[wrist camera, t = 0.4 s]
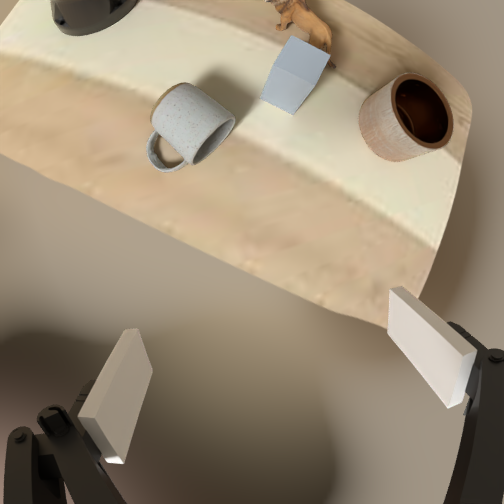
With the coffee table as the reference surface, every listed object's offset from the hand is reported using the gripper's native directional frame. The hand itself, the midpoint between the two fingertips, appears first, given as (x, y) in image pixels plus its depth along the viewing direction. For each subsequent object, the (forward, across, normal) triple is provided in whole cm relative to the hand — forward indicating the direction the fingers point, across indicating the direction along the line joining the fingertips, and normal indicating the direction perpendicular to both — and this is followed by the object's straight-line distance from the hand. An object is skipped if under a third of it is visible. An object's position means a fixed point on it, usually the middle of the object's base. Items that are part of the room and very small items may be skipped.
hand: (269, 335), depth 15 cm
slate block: (+30, +8, +17) cm, 35 cm away
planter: (+30, +23, +12) cm, 40 cm away
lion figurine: (+32, +11, +27) cm, 44 cm away
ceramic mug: (+28, -6, +12) cm, 31 cm away
